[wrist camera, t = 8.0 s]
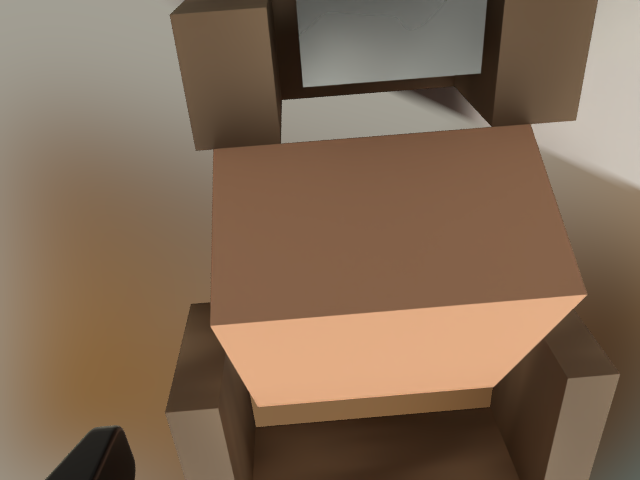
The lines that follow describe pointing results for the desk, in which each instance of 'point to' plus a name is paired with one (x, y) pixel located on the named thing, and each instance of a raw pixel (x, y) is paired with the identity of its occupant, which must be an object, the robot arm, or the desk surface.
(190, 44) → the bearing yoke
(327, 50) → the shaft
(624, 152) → the desk surface
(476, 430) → the housing
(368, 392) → the block
